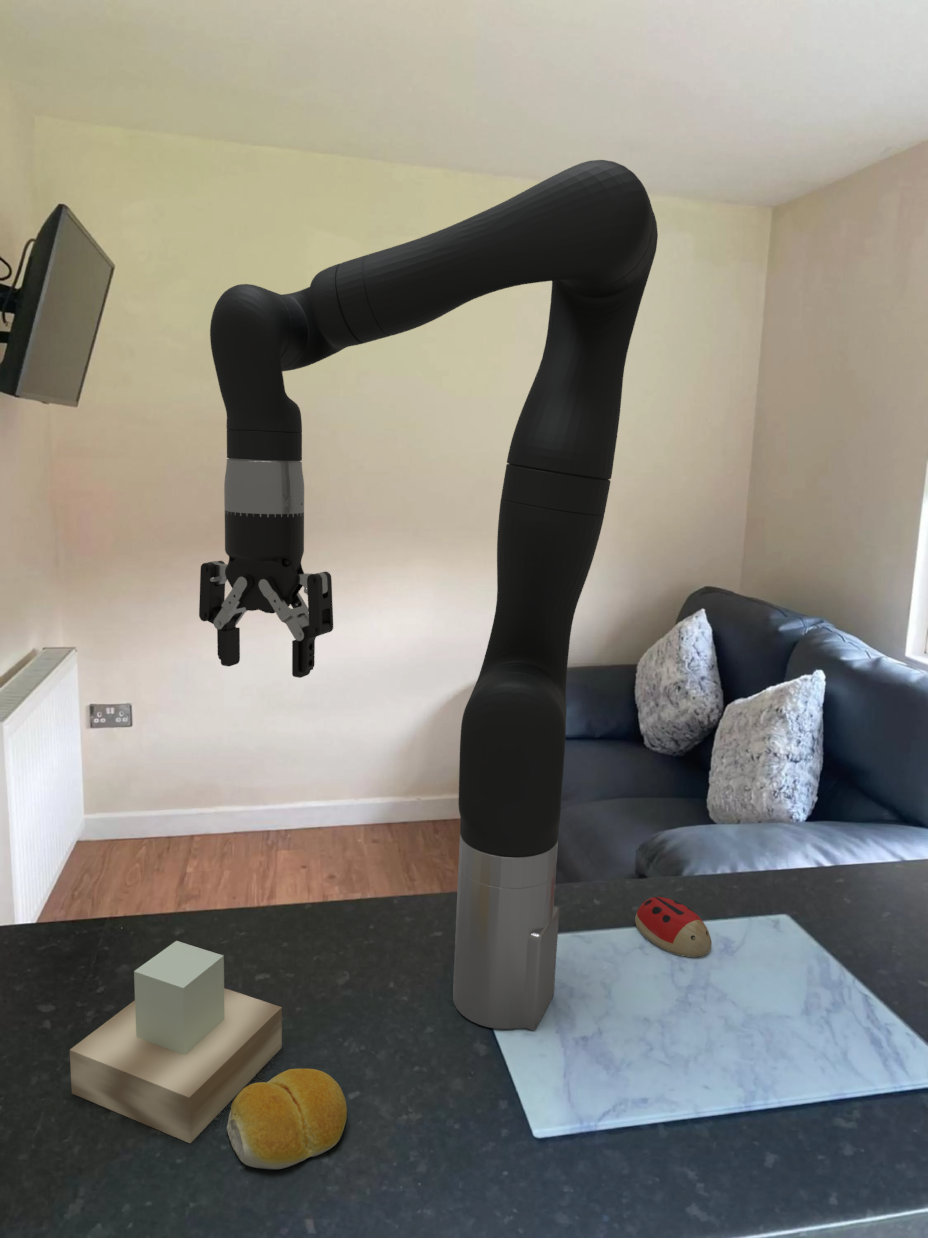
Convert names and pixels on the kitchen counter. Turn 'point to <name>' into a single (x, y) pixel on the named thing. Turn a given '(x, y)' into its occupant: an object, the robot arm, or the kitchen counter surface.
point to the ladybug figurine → (673, 927)
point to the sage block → (179, 996)
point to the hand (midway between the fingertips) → (265, 670)
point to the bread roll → (287, 1119)
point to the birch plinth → (176, 1067)
